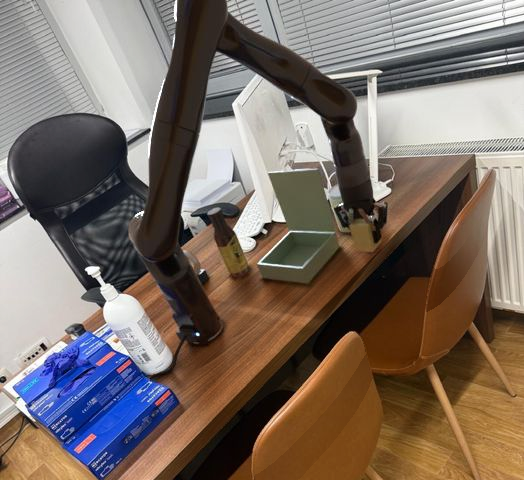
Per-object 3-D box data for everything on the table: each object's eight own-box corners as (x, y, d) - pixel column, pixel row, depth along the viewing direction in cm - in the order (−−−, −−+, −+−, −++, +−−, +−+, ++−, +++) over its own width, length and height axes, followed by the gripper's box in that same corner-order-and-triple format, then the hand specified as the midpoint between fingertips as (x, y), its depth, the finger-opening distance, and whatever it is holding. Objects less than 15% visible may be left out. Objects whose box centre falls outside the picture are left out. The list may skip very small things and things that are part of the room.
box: (308, 285, 116) (302, 268, 113) (263, 279, 126) (256, 264, 123) (340, 249, 124) (335, 232, 120) (295, 246, 134) (289, 230, 130)
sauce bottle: (248, 276, 130) (220, 214, 118) (228, 280, 132) (199, 220, 120) (252, 264, 135) (226, 203, 122) (233, 268, 137) (206, 208, 125)
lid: (316, 169, 109) (326, 159, 111) (267, 173, 119) (278, 163, 121) (334, 231, 120) (343, 220, 122) (288, 230, 130) (297, 220, 132)
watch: (195, 276, 141) (179, 246, 135) (213, 278, 136) (197, 247, 130) (183, 287, 139) (167, 257, 132) (201, 289, 134) (185, 258, 127)
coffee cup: (374, 217, 130) (366, 178, 122) (362, 235, 125) (352, 195, 118) (345, 218, 135) (335, 181, 128) (331, 236, 130) (321, 198, 123)
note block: (373, 252, 114) (367, 226, 110) (355, 251, 117) (349, 225, 113) (381, 241, 117) (376, 215, 112) (364, 240, 120) (358, 214, 115)
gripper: (319, 187, 108) (336, 248, 119) (373, 185, 99) (386, 251, 110) (335, 172, 112) (350, 232, 122) (388, 168, 103) (400, 233, 113)
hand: (367, 240), depth 116 cm, fingers closed on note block, 5 cm apart
